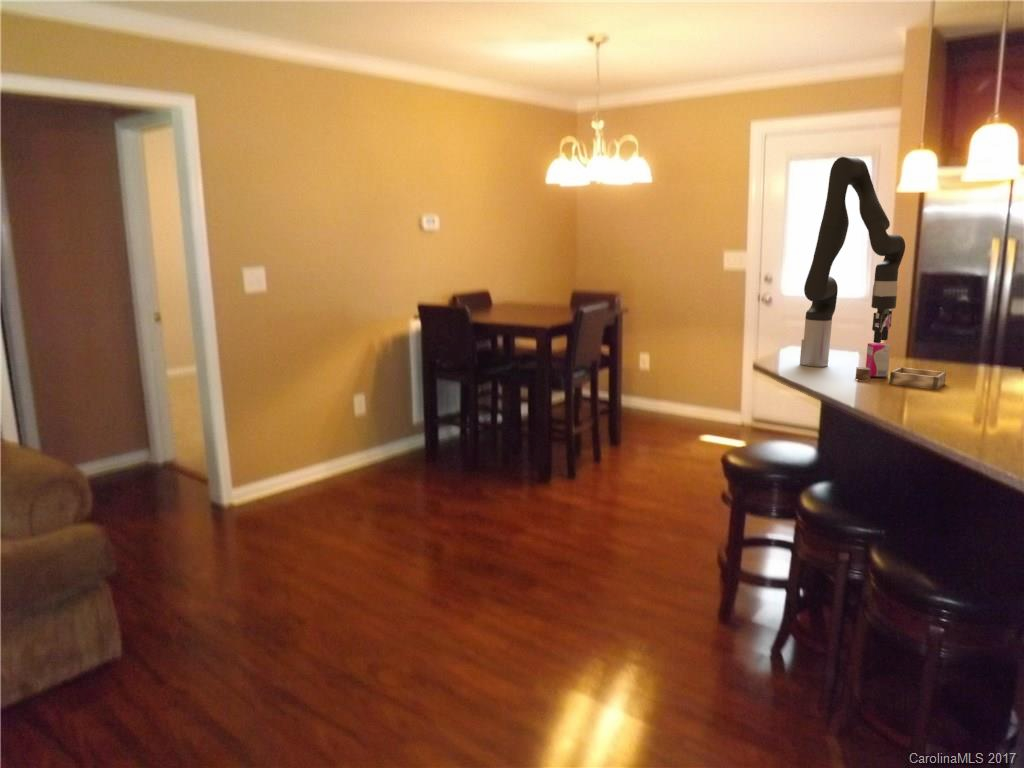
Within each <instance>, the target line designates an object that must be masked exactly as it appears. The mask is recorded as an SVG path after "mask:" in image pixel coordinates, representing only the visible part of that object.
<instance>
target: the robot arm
mask: <svg viewBox="0 0 1024 768" xmlns="http://www.w3.org/2000/svg"><path fill="white" fill-rule="evenodd" d="M830 168H831V169H830V172H829V180H828V184H827V185H828V186H827V194H826V200H825V204H824V210H823V215H822V218H821V219H822V220H821V223H820V226H819V230H818V231H819V232H818V234H817V235H818V236H817V241H816V245H815V249H814V253H813V258H812V263H811V264H810V268H809V270H808V274H807V276H806V279H805V283H804V286H803V287H804V288H803V292H804V295H805V297H806V299H807V300H808V301H811V305H810V308H809V309H808V310H807V311H806V313H805V318H804V320H805V321H804V331H803V338H802V339H801V346H800V355H799V358H800V359H799V365H803V366H808V367H815V368H816V367H823V368H824V367H828V365H829V357H830V348H831V347H830V346H831V335H832V334H831V333H832V324H833V316H834V313H835V311H836V306H837V299H838V283H837V281H836V280H835V278H834V277H832V276H830V272H831V269H832V266H833V263H834V261H835V260H836V258H837V256H838V255H839V253H840V251H841V249H842V248H843V246H844V244H845V241H846V238H847V234H848V231H849V225H850V224H849V223H850V221H849V214H848V210H847V205H846V198H847V196H846V195H847V191H848V188H849V186H851V187H852V188H853V189H854V191H855V192H856V194H857V197H858V200H859V201H858V205H859V209H858V210H859V215H860V218H861V220H862V222H863V224H864V226H865V227H866V229H867V231H868V236H869V237H868V238H869V243H870V247H871V249H872V251H873V252H874V253H875V254H876V255H877V256H880V257H884V258H883V261H882V262H881V263H878V264H876V266H875V270H874V282H873V285H872V296H871V306H870V307H871V308H872V309H876V310H877V311H876V312H874V313H873V316H872V317H873V319H872V327H871V330H872V332H874V333H873V343H881V342H882V341H887V340H888V339H889V338H888V337H889V330H890V328H891V327H892V317H893V310H894V309H896V306H897V298H898V275H899V268H900V265H901V263H902V261H903V257H904V254H905V251H906V242H905V239H904V236H901V235H899V234H888V233H887V230H888V229H889V228H890V226H891V223H890V221H889V218H888V215H887V214H886V212H885V210H884V208H883V207H882V205H881V203H880V200H879V197H878V196H877V193H876V190H875V187H874V184H873V181H872V178H871V174H870V172H869V169H868V165H867V164H866V162H865V161H864V159H861V158H858V157H852V156H851V157H850V156H841V157H838V158H837V159H836V160H834V162H833V164H832V166H831V167H830Z"/></svg>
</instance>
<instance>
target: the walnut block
mask: <svg viewBox="0 0 1024 768" xmlns="http://www.w3.org/2000/svg"><path fill="white" fill-rule="evenodd" d="M856 379H858V380H857V381H859V380H869V381H870V379H871V378H870V368H866V366H865V367H862V366H856V369H855V380H856Z"/></svg>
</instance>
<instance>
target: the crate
mask: <svg viewBox="0 0 1024 768" xmlns="http://www.w3.org/2000/svg"><path fill="white" fill-rule="evenodd" d="M946 374H947V371H940V370H939V371H938V370H937V371H936V370H929V369H921V368H920V369H919V368H918V369H917V368H911V367H901V366H899V367H897V368H896V369H893V370H892V371H890V374H889V385H894V384H895V386H902V385H903V387H910V386H911V388H912V387H913V388H918V387H919V388H920V389H926V388H927V390H935V389H936V391H937V390H938V389H940V388H941V387H942V386H944V385H945V383H946V376H947V375H946Z"/></svg>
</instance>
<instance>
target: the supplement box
mask: <svg viewBox="0 0 1024 768" xmlns="http://www.w3.org/2000/svg"><path fill="white" fill-rule="evenodd" d="M891 346H892V345H890V344H887V343H884V342H882V343H874V342H872V343H871V342H868V343H867V349H866V360H865V361H866V362H865V368H870V377H879V378H878V379H888V378H889V368H890V358H891V357H890V356H891Z"/></svg>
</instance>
